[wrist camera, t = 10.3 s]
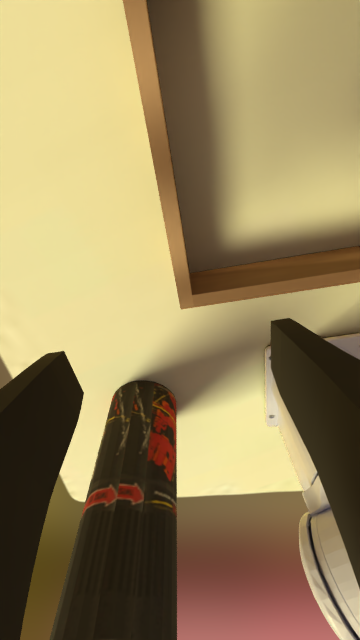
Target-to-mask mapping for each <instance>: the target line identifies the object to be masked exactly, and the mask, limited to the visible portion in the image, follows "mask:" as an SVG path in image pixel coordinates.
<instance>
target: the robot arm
mask: <svg viewBox="0 0 360 640" xmlns="http://www.w3.org/2000/svg"><path fill="white" fill-rule="evenodd" d="M270 356H271V358H270ZM83 394H84V392H83V390H82V388H81V386H80V384H79V382H78V380H77V378H76V375H75V373H74V371H73V369H72V367H71V365H70V363H69V361H68V359H67V357H66V354H65V352H64V351H61V352H55V353H48V354H46V355H44V356H43V357H41V358H40V359H39V360H37V361H36V362H34V363H33V364H32V365H31V366H29V367H28V368H27V369H25V370H24V371H23V372H22V373H20V374H19V375H18V376H17V377H15V378H14V379H13V380H12V381H10V382H9V383H8V384H7V385H5V386H4V387H3V388H1V389H0V640H20V635H21V629H22V623H23V618H24V612H25V607H26V603H27V597H28V592H29V587H30V582H31V577H32V572H33V568H34V564H35V559H36V555H37V550H38V546H39V541H40V537H41V533H42V529H43V525H44V521H45V518H46V514H47V510H48V506H49V502H50V499H51V495H52V492H53V489H54V486H55V483H56V480H57V477H58V475H59V472H60V469H61V466H62V464H63V461H64V458H65V456H66V453H67V450H68V447H69V445H70V442H71V439H72V436H73V433H74V430H75V428H76V425H77V422H78V418H79V414H80V410H81V405H82V400H83ZM265 421H266V424H267V426H269V427H274V426H278V428H279V430H280V433H281V436H282V438H283V441H284V444H285V446H286V449H287V451H288V454H289V457H290V459H291V462H292V465H293V467H294V470H295V473H296V475H297V478H298V481H299V483H300V485H301V487H302V489H303V490H304V492H303V493H302V495H303V497H304V500H305V503H306V505H307V508H308V510H309V512H307V513H305V514H304V515H303V516H302V517H301V520H300V524H299V546H300V554H301V559H302V563H303V567H304V570H305V573H306V576H307V579H308V582H309V585H310V587H311V590H312V592H313V594H314V597H315V599H316V601H317V603H318V605H319V607H320V609H321V611H322V612H323V614H324V616H325V618H326V620H327V621H328V623H329V624H330V626H331V627H332V629H333V630H334V632H335V633H336V635H337V636H338V637H339V639H340V640H360V333H357V334H350V335H343V336H335V337H328V338H321V337H320V336H318V335H316V334H315V333H313V332H312V331H310V330H308V329H307V328H305V327H304V326H302V325H300V324H299V323H297V322H295V321H294V320H292V319H290V318H287V319H280V320H274V321H271V346H268V347H267V348H266V349H265Z"/></svg>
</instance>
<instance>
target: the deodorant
mask: <svg viewBox="0 0 360 640" xmlns="http://www.w3.org/2000/svg"><path fill="white" fill-rule="evenodd" d="M176 510H177V469H176V399H175V397H174V395H173V394H172V393H171V391H170V390H169V389H167V388H166V387H164V386H163V385H160V384H158V383H155V382H150V381H135V382H131V383H128V384H126V385H123V386H121V387H120V388H119V389H118V390H117V391H116V392H115V394H114V396H113V398H112V402H111V406H110V410H109V414H108V417H107V421H106V425H105V429H104V433H103V437H102V440H101V444H100V448H99V452H98V456H97V460H96V463H95V467H94V471H93V475H92V479H91V483H90V486H89V490H88V494H87V498H86V502H85V506H84V509H83V513H82V517H81V521H80V525H79V529H78V532H77V536H76V540H75V544H74V548H73V552H72V556H71V559H70V563H69V567H68V571H67V575H66V579H65V583H64V586H63V590H62V594H61V598H60V602H59V605H58V609H57V613H56V617H55V621H54V625H53V628H52V632H51V636H50V640H177V519H176V518H177V511H176Z"/></svg>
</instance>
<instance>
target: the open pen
mask: <svg viewBox="0 0 360 640" xmlns="http://www.w3.org/2000/svg"><path fill="white" fill-rule="evenodd" d="M123 3H124V9H125V14H126V19H127V25H128V30H129V35H130V41H131V46H132V51H133V57H134V62H135V67H136V73H137V78H138V83H139V89H140V94H141V99H142V105H143V110H144V115H145V121H146V126H147V131H148V137H149V142H150V148H151V153H152V158H153V164H154V169H155V174H156V180H157V185H158V190H159V196H160V201H161V206H162V212H163V217H164V222H165V228H166V233H167V238H168V244H169V249H170V254H171V260H172V265H173V270H174V276H175V281H176V286H177V292H178V297H179V302H180V308H181V309H186V308H193V307H200V306H206V305H213V304H219V303H226V302H232V301H239V300H245V299H252V298H259V297H265V296H272V295H278V294H285V293H291V292H298V291H304V290H311V289H318V288H324V287H331V286H337V285H344V284H350V283H357V282H360V246H356V247H350V248H343V249H337V250H331V251H325V252H319V253H313V254H306V255H300V256H294V257H288V258H282V259H275V260H269V261H263V262H257V263H251V264H244V265H238V266H232V267H226V268H220V269H214V270H207V271H201V272H195V273H189V267H188V260H187V254H186V248H185V241H184V235H183V228H182V222H181V216H180V209H179V203H178V197H177V190H176V184H175V177H174V171H173V165H172V158H171V152H170V146H169V139H168V133H167V127H166V120H165V114H164V107H163V101H162V95H161V88H160V82H159V76H158V69H157V63H156V56H155V50H154V44H153V37H152V31H151V25H150V18H149V12H148V6H147V0H123Z"/></svg>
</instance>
